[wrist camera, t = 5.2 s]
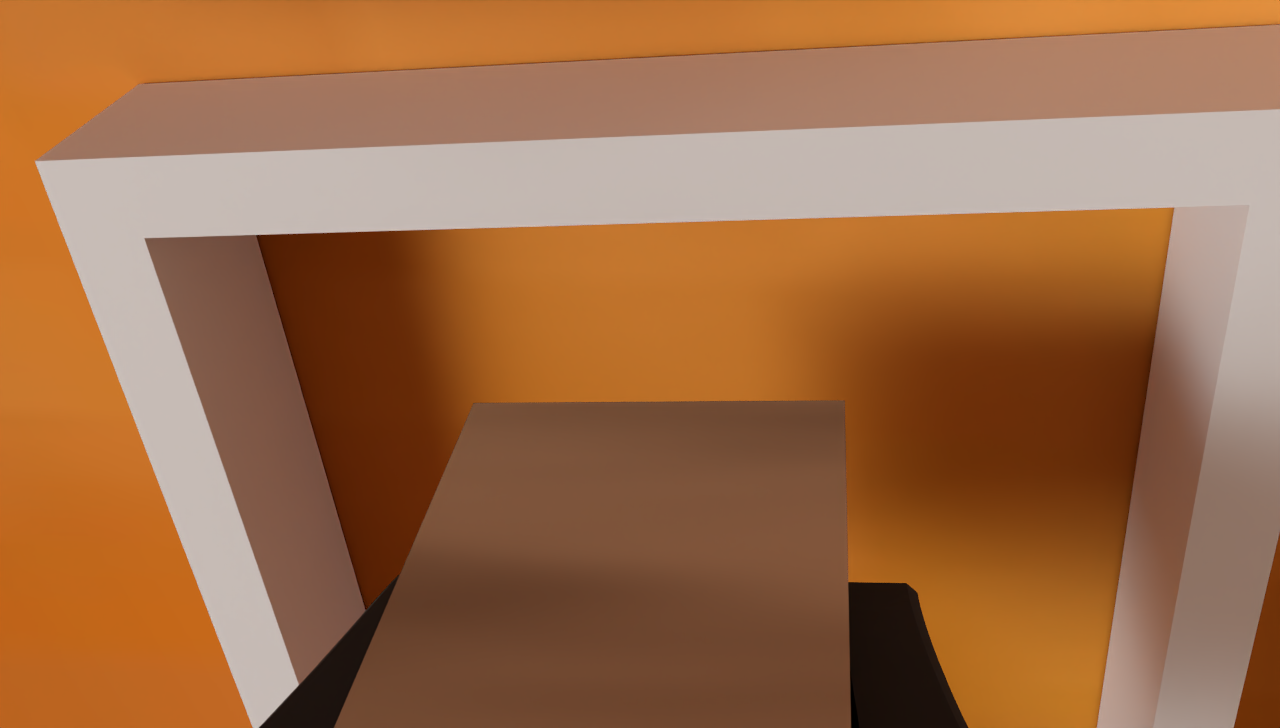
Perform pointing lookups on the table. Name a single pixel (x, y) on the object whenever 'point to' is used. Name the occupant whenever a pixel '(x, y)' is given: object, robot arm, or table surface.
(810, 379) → the table surface
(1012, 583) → the table surface
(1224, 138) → the white rectangular frame
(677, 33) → the table surface
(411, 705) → the labelled walnut box
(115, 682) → the table surface
